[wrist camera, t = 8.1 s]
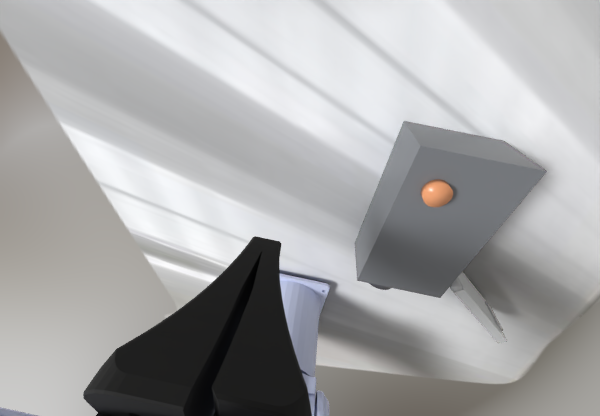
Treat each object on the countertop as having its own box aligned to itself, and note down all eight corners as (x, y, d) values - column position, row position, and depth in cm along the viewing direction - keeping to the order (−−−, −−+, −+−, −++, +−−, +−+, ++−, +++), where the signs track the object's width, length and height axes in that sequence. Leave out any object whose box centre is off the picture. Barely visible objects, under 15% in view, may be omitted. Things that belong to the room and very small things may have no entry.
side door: (432, 250, 23) (447, 288, 20) (443, 245, 23) (461, 283, 20) (476, 304, 27) (496, 343, 24) (487, 300, 26) (509, 341, 23)
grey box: (421, 266, 25) (437, 312, 21) (351, 251, 25) (353, 295, 21) (506, 141, 17) (557, 177, 13) (403, 121, 17) (423, 150, 13)
